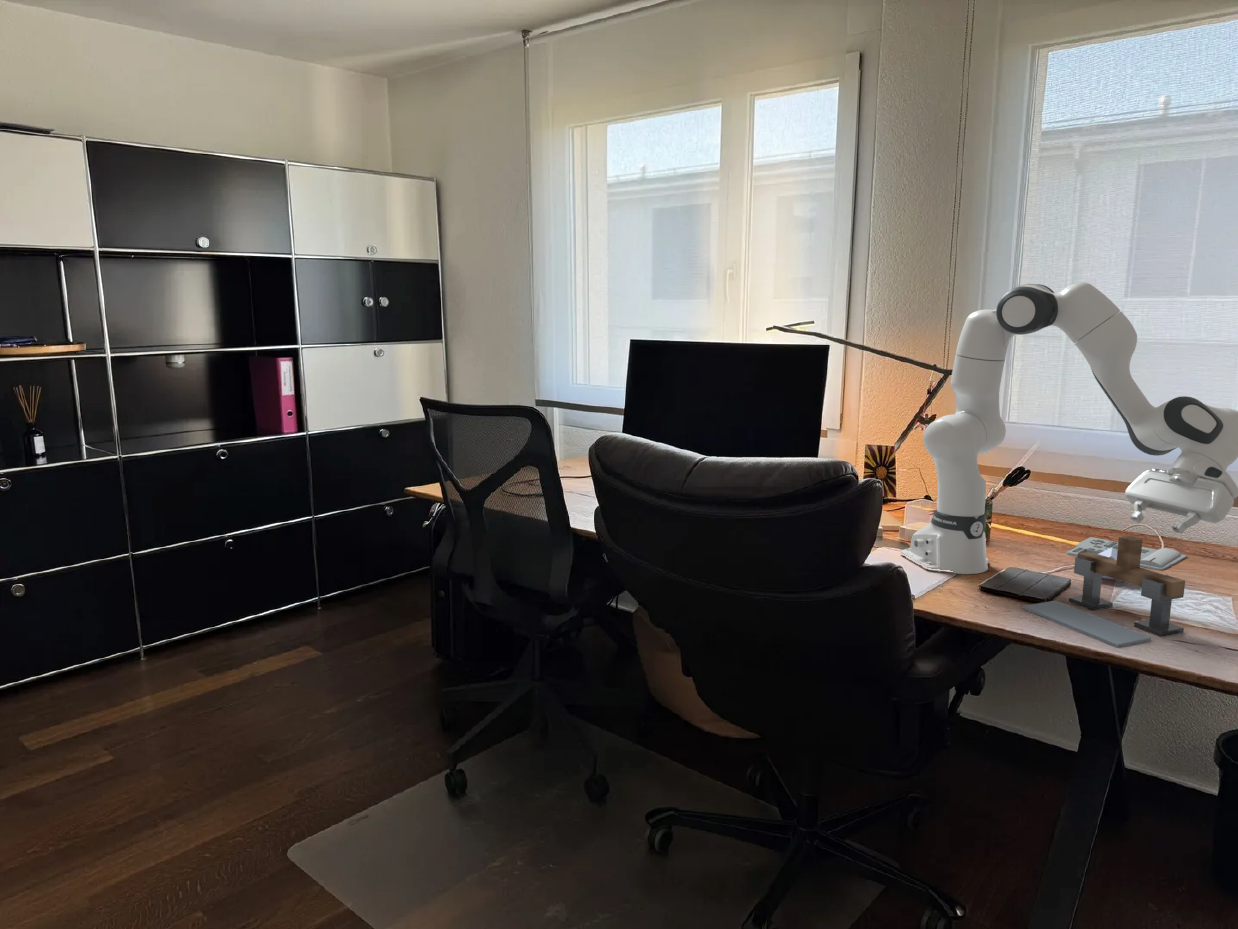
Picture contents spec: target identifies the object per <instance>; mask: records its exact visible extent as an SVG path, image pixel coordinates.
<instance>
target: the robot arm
mask: <svg viewBox="0 0 1238 929" xmlns="http://www.w3.org/2000/svg"><path fill="white" fill-rule="evenodd" d="M1119 308H1120V307H1118V306H1117V305H1116V304H1115V303H1114V302H1113V301H1112V300H1111V299H1110V298H1109V297H1107V295H1105V294H1104V293H1103V292H1101V291H1100V290H1099V289H1098V288H1097V287H1095V286H1094V285H1093V284H1091V283H1089V282H1084V281H1083V282H1082V281H1081V282H1075V283H1071V285H1068V286H1066V287H1064V288H1063V289H1062V290H1060V291H1058V292H1055V291H1054V290H1052V289H1051V287H1049V286H1046V285H1043V284H1038V283H1026V284H1022V285H1018V286H1016V287H1013V288H1011V289H1010V290H1008V291H1006V292H1005V293H1004V294H1003V295H1002V297H1001V298H1000V299H999V300H998V302H997V306H996V308H995V309H988V308H987V309H985V308H984V309H979V310H976V311H973V312H971V313H970V314H969V315H968V316H967V317H966V319H965V321H964V325H963V326H962V329H961V332H960V335H959V339H958V342H957V346H956V350H955V356H954V361H953V365H952V370H951V371H952V372H951V378H950V385H949V386H950V388H951V389H950V390H952V391H953V393H954V396H955V406H956V407H955V408H956V409H955V413H953V414H946V415H943V416H941V417H938V418H937V419H935V420H933V421H932V422H930V423H929V424H928V425H927V426H926V427H925V430H924V432H923V435H922V436H923V437H922V439H923V440H922V442H923V446H924V448H925V450H926V452H927V453H928V454H929V455H930V456H931V457H932V459H933V462H934V465H935V466H934V467H935V471H936V476H937V501H936V509H935V510H934V509H932V510H929V511H928V512H931V513H929V514H928V515H929V516H932V517H931V519H930V523H928V524H927V525H925V526H923V527H921V528H920V529H918V530H917V531H915V532H914V533H913V534H912V537H911V541H910V547H908V548H905V549H902V550H900V554H901V553H902V554H904V555H906V556H908V557H910V558H913V559H914V560H915V561H917V562H918V563H920V564H923V565H924V566H926V567H927V568H931V569H940V570H950V571H953V572H956V573H957V574H956V573H955V574H956V575H973V574H974V575H975V574H980V573H981V574H982V573H985V572H987V571H988V570H989V566H988V564H989V563H990V562H989V558H988V557H987V544H986V543H987V542H986V532H985V528H986V526H987V513H986V512H985V508H986V493H987V483H986V482H987V481H986V479H984V477H983V476H982V475H981V473H980V469H979V464H978V455H979V456H980V455H984V454H987V453H989V452H990V451H993V450H994V449H996V448H997V447H998V446H1000V445H1001V444H1002V443H1003V441H1004V439H1005V437H1006V432H1007V430H1006V425H1005V423H1004V420H1003V418H1002V417H1001V411H1000V410H1001V409H1000V388H1001V387H1000V386H1001V382H1002V377H1003V372H1004V367H1005V366H1004V365H1005V363H1006V357H1007V351H1008V347H1009V344H1010V341H1011V340H1012V338H1013V337H1014V336H1015V335H1020V336H1022V335H1028V334H1034V333H1036V332H1039V331H1041V330H1042V329H1045V328H1047V327H1051V326H1053V327H1057V328H1058V329H1060V330H1062V332H1063V333H1065V335H1067V337H1068V338H1069V339H1070V340H1071V341H1072V343H1073V344H1074V345H1075V346H1076V348H1077V349H1078V350H1079V351H1080V353H1081V355H1083V357H1084V358H1085V361H1086V362H1087V363H1088V365H1089V367H1090V370H1091V372H1092V374H1093V377H1094V378H1095V381H1096V382H1097V383H1098V386H1099V387H1100V388H1101V390H1102V391H1103V392H1104V394H1105V396H1107V398H1108V400H1109V401H1110V402H1111V404H1112V406H1113V407H1114V408H1115V409H1116V411H1117V413H1118V414H1119V416H1120V417H1121V418H1122V420H1123V422H1124V424H1125V426H1126V430H1127V432H1128V436H1129V438H1130V441H1131V442H1132V444H1133V445H1134V447H1135V448H1137V449H1138V450H1139V451H1141V453H1145V454H1147V455H1149V456H1158V457H1159V456H1164V455H1167V454H1169V453H1170V452H1172V451H1174V450H1176V449H1177V448H1179V449H1180V450H1181V453H1180V454H1179V455H1178V457H1177V458H1175V460H1174V462H1173V463H1172V464H1171V465H1170V467H1169V468H1168V470H1164V469H1159V468H1151V469H1148V470H1144V471H1143V472H1142V473H1141V474H1140V475H1138V476H1137V477H1136V478H1134V480H1133V481H1132V482H1131V483H1130V484H1129V485H1128V486H1127V488H1126V489H1125V491H1124V495H1125V498H1126V499H1127V500H1128V502H1129V503H1130V504H1131V505H1133V506H1134V507H1133V512H1132V514H1131V515H1130V517H1129V518H1130V520H1131V521H1132V522H1134V523H1138V524H1140V523H1142V521H1143V520H1144V519H1145V516H1144V515H1143V511H1146V509H1153V510H1156V511H1160V512H1164V513H1165V512H1166V513H1170V514H1174V515H1177V516H1178V515H1179V516H1183V517H1186V518H1184V519H1183V520H1181V521H1178V520H1176V521H1175V522H1174V524H1172V526H1171V528H1172V530H1173V532H1175V533H1177V534H1183V533H1184V532H1186V530H1187V529H1188V528H1190V527H1192V526H1195V525H1197V524H1198V523H1199V522H1200V521H1205V522H1209V523H1212V524H1216V523H1219V522H1221V521H1223V520H1224V519H1225V518H1226V516H1227V515H1228V514H1229V513H1230V511H1231V509H1232V508H1233V505H1234V503H1235V500H1234V499H1236V498H1238V486H1237V484H1236V482H1235V480H1234V479H1233V478H1232V477H1231V475H1230V474H1229V473H1228V472H1227V469H1228V467H1230V465H1232V464H1233V463H1235V462H1236V461H1237V459H1238V410H1236V409H1232V408H1227V407H1226V408H1225V407H1223V408H1221V407H1219V408H1218V407H1215V406H1214V407H1213V406H1210V405H1208V404H1205V403H1203V402H1202V401H1201V400H1199V399H1197V398H1195V397H1192V396H1186V395H1185V396H1176V397H1174V398H1171V399H1170V400H1168V401H1166V402H1163V403H1162V404H1160V405H1158V406H1157V407H1156V406H1154V405H1153V404H1151V403H1150V401H1149V400H1148V398H1147V397H1146V396H1145V394H1144V393H1143V392H1142V390H1141V389H1140V387H1139V386H1138V385H1137V383H1136V382H1135V380H1134V379H1133V376H1132V373H1131V369H1130V365H1131V360H1132V357H1133V354H1134V352H1135V351H1136V347H1137V342H1138V334H1137V332H1136V330H1135V327H1134V326H1133V323H1132V322H1131V321H1130V320H1129V318H1128V317H1127V316H1126V314H1124V313H1123V312H1122V311H1121V309H1119ZM925 564H929V565H925Z"/></svg>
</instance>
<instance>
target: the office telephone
mask: <svg viewBox="0 0 1238 929" xmlns="http://www.w3.org/2000/svg"><path fill="white" fill-rule="evenodd" d="M1111 547H1113V548H1114V549H1115V550H1117V551H1118V541H1112V540H1110V539H1109V540H1108V539H1103V538H1097V537H1094V536H1090V537H1088V538H1086V539H1084V540H1082V541H1081V542H1078V543H1077V544H1076V547H1074V548H1072V549H1069V550H1068V551H1066V556H1071V557H1074V558H1075V557H1077V556H1078V553H1082V552H1091V553H1094V554H1099V553H1101V552H1103V551H1105V550H1107V549H1109V548H1111ZM1187 557H1188V556H1187V554H1181V552H1180V551H1178V550H1176V549H1172V548H1167V547H1163V548H1159V549H1155V548H1150V547H1145V546H1142V550H1141V560H1140V568H1144V569H1148V570H1153V571H1154V570H1155V571H1164V570H1166V569H1168V568H1170V567H1171V566H1174V565H1176V564H1178V563H1179V562H1180V561H1182V560H1184V559H1186V558H1187Z"/></svg>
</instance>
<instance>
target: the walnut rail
mask: <svg viewBox="0 0 1238 929" xmlns="http://www.w3.org/2000/svg"><path fill="white" fill-rule="evenodd" d="M1143 540H1144V539H1143V538H1139V537H1136V536H1131V535H1125V536H1119V537H1118V541H1117V542H1118V551H1117V560H1114V559H1111V558H1107V557H1104V556H1101V555H1098V554H1096V553H1091V552H1082V553H1078V556H1077V557H1081V558H1085V559H1088V560H1091V561H1094V562H1095V570H1094V572H1096V573H1099V574H1102V575H1105V576H1108V577H1111V578H1114V579H1113V580H1118V581H1121V582H1123V583H1127V584H1130V585H1132V586H1136V587H1138V588H1141V589H1142V579H1144V578H1148V579H1151V580H1155V581H1158V582H1161V583H1164V584H1166V585H1165V595H1166V596H1169V597H1176V596H1181V595H1182V594H1183V585H1184V581H1183V580H1184V579H1182V580H1180V579H1181V578H1178V579H1176V578H1177V577H1175V578H1173V577H1174V576H1172V577H1170V576H1171V575H1169V576H1167V575H1168V574H1163V573H1160V572H1157V571H1154V570H1151V569H1148V568H1144V567H1140V560H1141V550H1142V547H1143Z"/></svg>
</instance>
